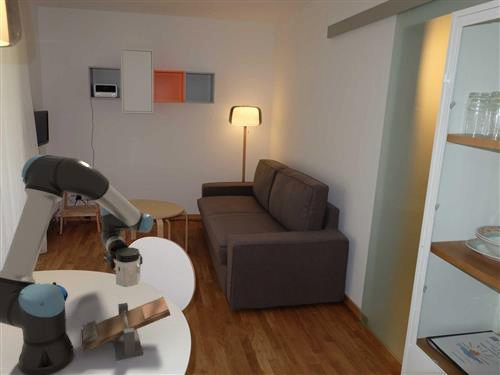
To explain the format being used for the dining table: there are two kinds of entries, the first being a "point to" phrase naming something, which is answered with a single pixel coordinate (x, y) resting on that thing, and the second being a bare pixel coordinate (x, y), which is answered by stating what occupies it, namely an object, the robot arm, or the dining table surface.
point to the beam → (122, 323)
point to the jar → (127, 267)
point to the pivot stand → (127, 341)
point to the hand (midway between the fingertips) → (132, 271)
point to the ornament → (62, 291)
